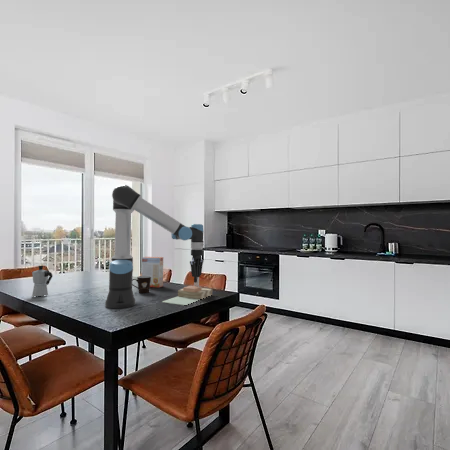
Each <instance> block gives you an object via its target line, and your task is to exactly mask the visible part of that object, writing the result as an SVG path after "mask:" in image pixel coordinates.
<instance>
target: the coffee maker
mask: <svg viewBox="0 0 450 450" xmlns="http://www.w3.org/2000/svg"><path fill="white" fill-rule="evenodd" d="M43 268H44V265H38V269H37V270H33V271H32V272H31V274H32V282H33V289H32V294H31V297H32V296H44V295H48V296H49V291H48V285H49V284H50V282H51V280H52V278H53V273H52V272H51V271H50V270H47V269H46V270H45V269H43Z"/></svg>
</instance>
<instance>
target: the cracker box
mask: <svg viewBox="0 0 450 450" xmlns="http://www.w3.org/2000/svg"><path fill="white" fill-rule="evenodd" d="M141 276H151V281H150V288H162V287H164V257H162V256H143V257H142V256H141Z"/></svg>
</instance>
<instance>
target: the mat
mask: <svg viewBox="0 0 450 450" xmlns="http://www.w3.org/2000/svg"><path fill="white" fill-rule="evenodd" d="M198 300H199V301H201V300H200V299H193V298H185V297H178V295H177V296H175V297H172V298H169V299H165V300H163V301H161V303H163V304H170V305H178V306H184V305H187V306H189V305H192V304H194V303H196V301H197V302H199V301H198ZM193 302H194V303H193ZM191 303H192V304H191ZM188 304H189V305H188Z"/></svg>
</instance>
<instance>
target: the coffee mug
mask: <svg viewBox="0 0 450 450" xmlns="http://www.w3.org/2000/svg"><path fill="white" fill-rule="evenodd" d="M136 277H137V279H136V278H134V279H133V278H132V282H133V281H136V282H137V286H136V285H135V284H133V283H132V287H135V288H137V290H138V294H148V293H150V288H151V287H150V281H151V276H142V275H139V276H136Z"/></svg>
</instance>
